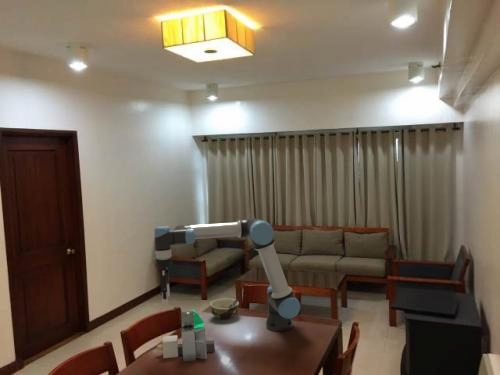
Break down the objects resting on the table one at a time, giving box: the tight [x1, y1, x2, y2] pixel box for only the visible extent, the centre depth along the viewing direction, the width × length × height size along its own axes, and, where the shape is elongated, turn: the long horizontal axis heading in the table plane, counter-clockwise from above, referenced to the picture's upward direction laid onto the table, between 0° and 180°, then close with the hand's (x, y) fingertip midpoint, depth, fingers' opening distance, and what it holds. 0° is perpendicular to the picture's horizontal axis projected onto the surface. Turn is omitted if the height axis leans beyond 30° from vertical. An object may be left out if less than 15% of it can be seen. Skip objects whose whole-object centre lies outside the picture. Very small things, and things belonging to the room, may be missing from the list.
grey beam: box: [156, 334, 216, 359], centre depth 210 cm, size 28×7×8 cm, turn 98°
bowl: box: [209, 297, 240, 320], centre depth 255 cm, size 18×18×10 cm
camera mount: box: [190, 309, 205, 331], centre depth 239 cm, size 12×8×10 cm, turn 98°
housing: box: [180, 310, 208, 362], centre depth 210 cm, size 11×19×20 cm, turn 8°
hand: (166, 300), depth 207 cm, fingers open, 13 cm apart
